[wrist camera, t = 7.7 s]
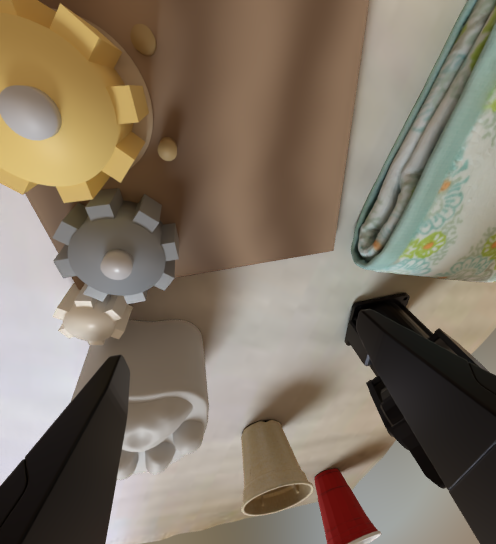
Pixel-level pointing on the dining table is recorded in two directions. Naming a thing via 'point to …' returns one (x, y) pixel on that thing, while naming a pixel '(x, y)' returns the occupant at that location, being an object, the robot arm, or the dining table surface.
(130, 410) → the grey paw block
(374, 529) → the plastic cup
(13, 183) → the loose gear
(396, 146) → the towel
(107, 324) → the small gear
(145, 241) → the gear
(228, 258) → the board
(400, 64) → the dining table surface
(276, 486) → the flower pot
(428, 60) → the dining table surface
